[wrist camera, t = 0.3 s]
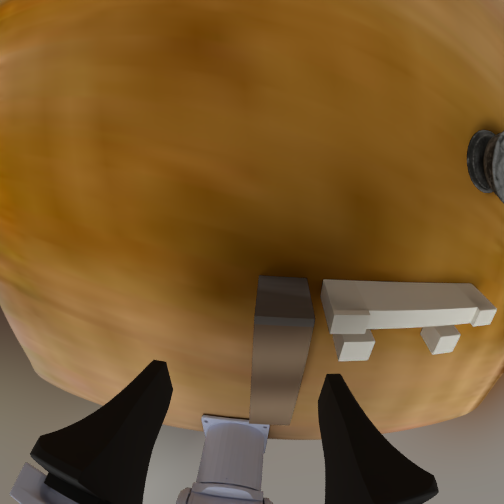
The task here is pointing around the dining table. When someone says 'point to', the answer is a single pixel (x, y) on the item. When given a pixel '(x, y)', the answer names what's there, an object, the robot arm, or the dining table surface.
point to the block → (279, 347)
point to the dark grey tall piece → (487, 162)
